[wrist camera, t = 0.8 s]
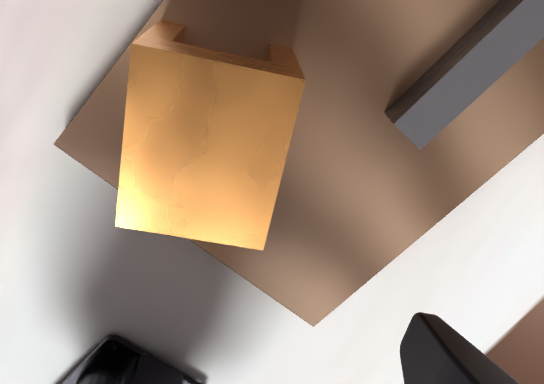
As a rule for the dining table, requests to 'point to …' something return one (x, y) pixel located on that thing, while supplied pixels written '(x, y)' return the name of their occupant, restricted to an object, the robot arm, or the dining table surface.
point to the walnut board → (341, 134)
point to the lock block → (205, 138)
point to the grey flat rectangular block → (468, 69)
